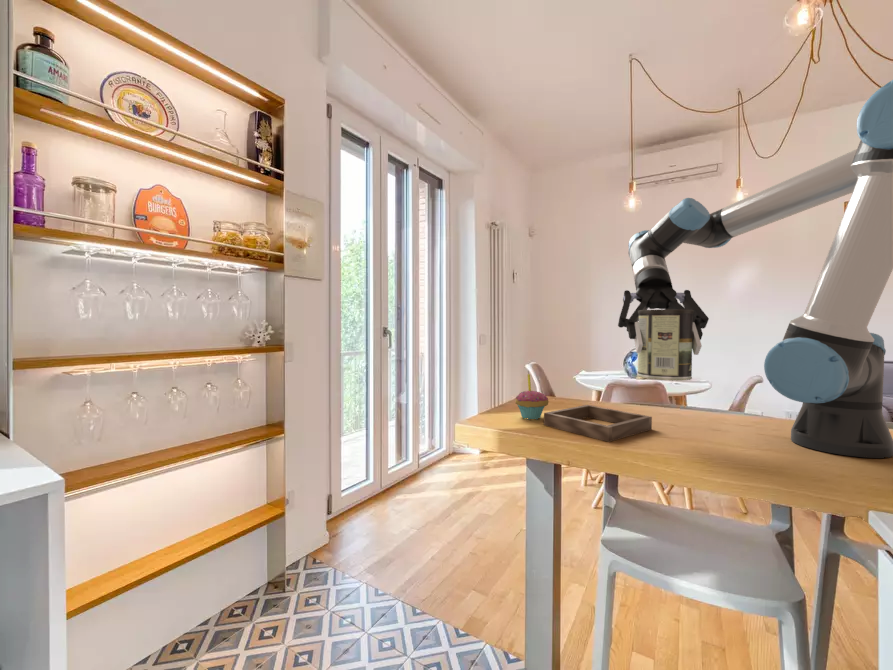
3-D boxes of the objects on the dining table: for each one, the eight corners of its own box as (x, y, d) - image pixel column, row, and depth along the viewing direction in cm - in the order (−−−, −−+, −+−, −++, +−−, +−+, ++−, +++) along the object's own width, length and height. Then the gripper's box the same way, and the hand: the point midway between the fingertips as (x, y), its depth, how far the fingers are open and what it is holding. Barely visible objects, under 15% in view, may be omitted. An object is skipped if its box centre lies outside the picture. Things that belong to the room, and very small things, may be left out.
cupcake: (509, 415, 112) (510, 370, 112) (537, 413, 115) (538, 369, 114) (524, 422, 104) (525, 374, 104) (554, 420, 106) (555, 373, 106)
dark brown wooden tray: (651, 429, 97) (651, 416, 97) (608, 441, 87) (608, 427, 87) (587, 415, 111) (587, 404, 111) (543, 425, 101) (544, 412, 101)
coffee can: (675, 374, 92) (677, 310, 92) (702, 381, 82) (705, 309, 82) (628, 373, 93) (629, 310, 92) (650, 380, 82) (651, 309, 82)
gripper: (700, 290, 99) (725, 363, 84) (599, 291, 104) (606, 359, 90) (709, 265, 94) (738, 338, 79) (602, 267, 99) (611, 336, 84)
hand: (668, 349), depth 84 cm, fingers closed on coffee can, 10 cm apart
